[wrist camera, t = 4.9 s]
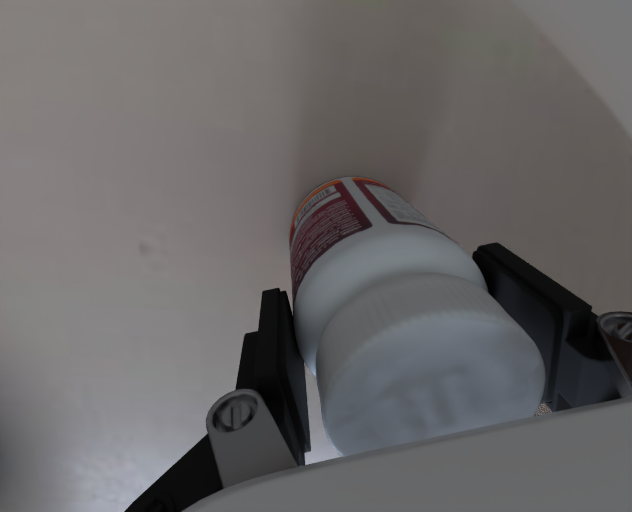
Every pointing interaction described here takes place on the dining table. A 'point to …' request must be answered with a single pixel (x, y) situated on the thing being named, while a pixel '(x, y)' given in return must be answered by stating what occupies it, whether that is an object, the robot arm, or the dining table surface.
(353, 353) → the pill bottle
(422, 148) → the dining table surface
